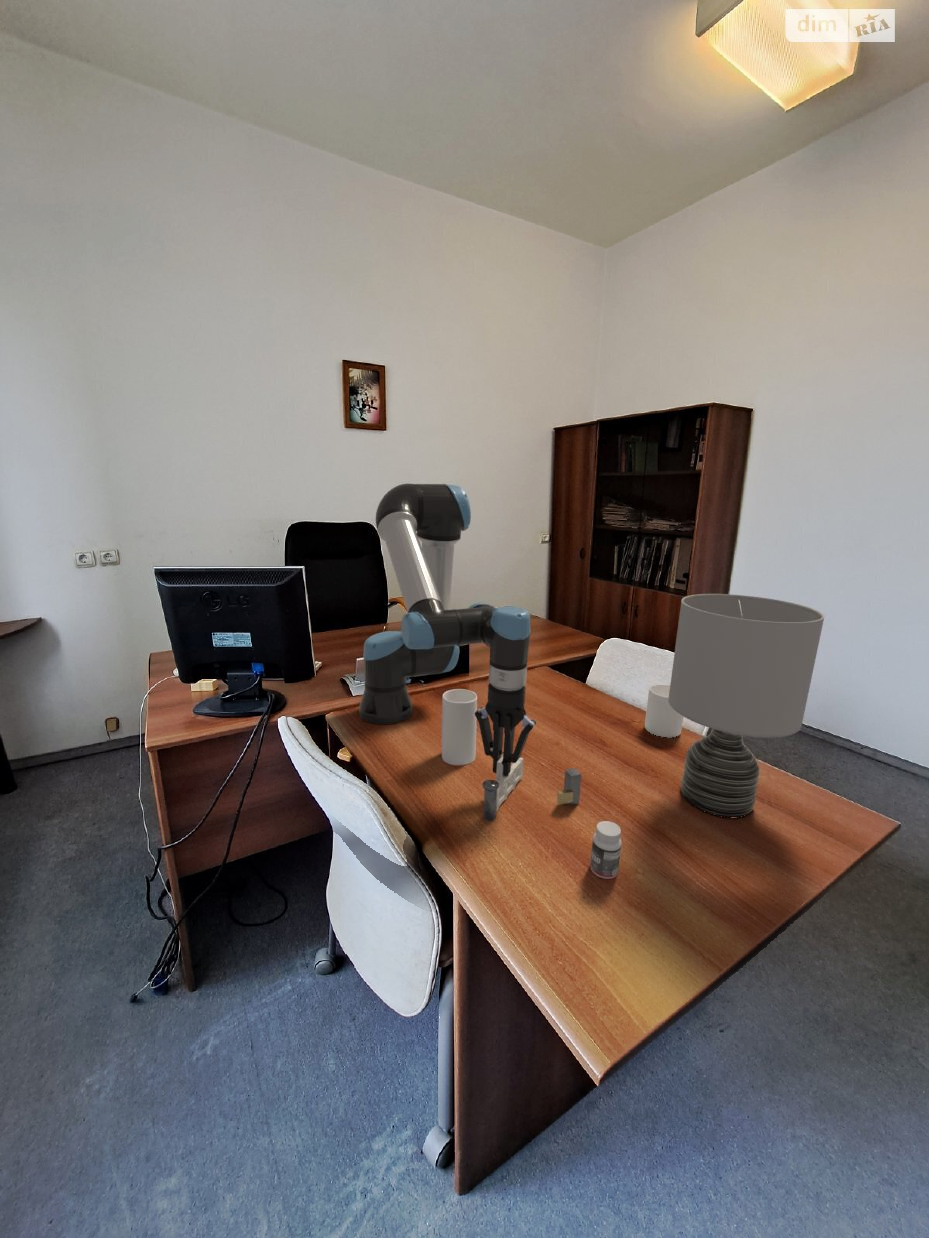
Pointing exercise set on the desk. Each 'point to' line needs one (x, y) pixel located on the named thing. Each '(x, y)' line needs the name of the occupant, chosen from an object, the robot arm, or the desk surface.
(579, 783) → the grey upright block
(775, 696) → the lamp
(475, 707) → the cup
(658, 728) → the mug
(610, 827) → the pill bottle
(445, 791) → the desk surface
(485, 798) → the hinge post
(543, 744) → the desk surface
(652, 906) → the desk surface
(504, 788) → the gate
